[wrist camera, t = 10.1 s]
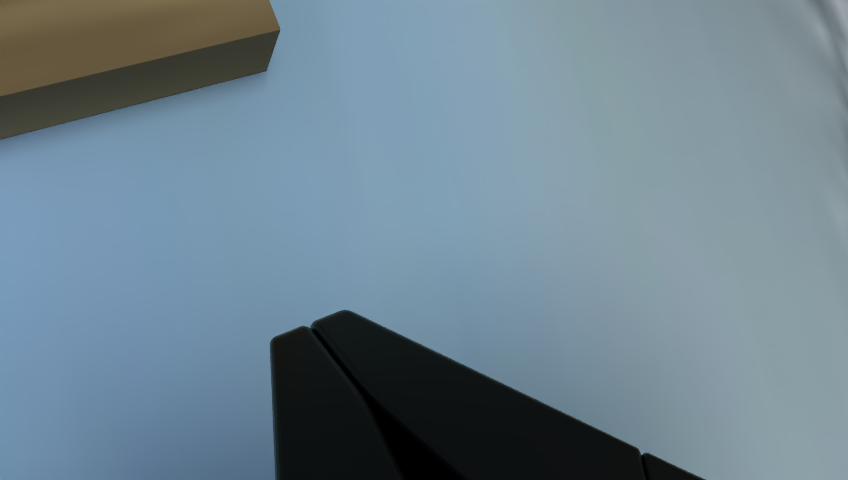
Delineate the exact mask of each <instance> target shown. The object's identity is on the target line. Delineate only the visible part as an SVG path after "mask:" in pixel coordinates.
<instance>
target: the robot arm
mask: <svg viewBox="0 0 848 480" xmlns="http://www.w3.org/2000/svg"><path fill="white" fill-rule="evenodd" d="M270 361H271V385H272V409H273V432H274V456H275V480H705V479H703V478H701V477H698V476H696V475H694V474H692V473H689V472H687V471H685V470H683V469H681V468H679V467H677V466H675V465H672V464H670V463H668V462H666V461H664V460H662V459H660V458H658V457H656V456H654V455H652V454H649V453H644V454H642V456H641V453H640V451H639V449H638V448H636V447H634V446H632V445H630V444H628V443H626V442H624V441H622V440H619V439H617V438H615V437H613V436H611V435H609V434H607V433H605V432H603V431H601V430H599V429H596V428H594V427H592V426H590V425H588V424H586V423H584V422H582V421H580V420H578V419H576V418H573V417H571V416H569V415H567V414H565V413H563V412H561V411H559V410H557V409H555V408H553V407H550V406H548V405H546V404H544V403H542V402H540V401H538V400H536V399H534V398H532V397H530V396H527V395H525V394H523V393H521V392H519V391H517V390H515V389H513V388H511V387H509V386H507V385H504V384H502V383H500V382H498V381H496V380H494V379H492V378H490V377H488V376H486V375H484V374H481V373H479V372H477V371H475V370H473V369H471V368H469V367H467V366H465V365H463V364H461V363H458V362H456V361H454V360H452V359H450V358H448V357H446V356H444V355H442V354H440V353H438V352H435V351H433V350H431V349H429V348H427V347H425V346H423V345H421V344H419V343H417V342H415V341H412V340H410V339H408V338H406V337H404V336H402V335H400V334H398V333H396V332H394V331H392V330H389V329H387V328H385V327H383V326H381V325H379V324H377V323H375V322H373V321H371V320H369V319H366V318H364V317H362V316H360V315H358V314H356V313H354V312H352V311H348V310H342V311H339V312H336V313H334V314H331V315H329V316H326V317H324V318H321V319H318V320H316V321H314V322H313V323H312V325H311V326H310V328H309V327H307V326H301V327H298V328H296V329H293V330H291V331H288V332H286V333H283V334H281V335H278V336H276V337H274V338H273V339H272V340H271V342H270Z"/></svg>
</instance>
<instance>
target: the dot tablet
mask: <svg viewBox="0 0 848 480" xmlns="http://www.w3.org/2000/svg"><path fill="white" fill-rule="evenodd" d="M279 32H280V27H279V25H278V22H277V19H276V17H275V14H274V12H273V9H272V7H271V4H270V1H269V0H0V139H4V138H8V137H11V136H15V135H19V134H23V133H27V132H31V131H35V130H39V129H42V128H46V127H50V126H54V125H58V124H62V123H66V122H70V121H73V120H77V119H81V118H85V117H89V116H93V115H97V114H101V113H105V112H108V111H112V110H116V109H120V108H124V107H128V106H132V105H136V104H139V103H143V102H147V101H151V100H155V99H159V98H163V97H167V96H170V95H174V94H178V93H182V92H186V91H190V90H194V89H198V88H202V87H205V86H209V85H213V84H217V83H221V82H225V81H229V80H233V79H236V78H240V77H244V76H248V75H252V74H256V73H260V72H264V71H266V70H267V67H268V64H269V62H270V59H271V56H272V53H273V50H274V47H275V44H276V41H277V38H278V35H279Z"/></svg>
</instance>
